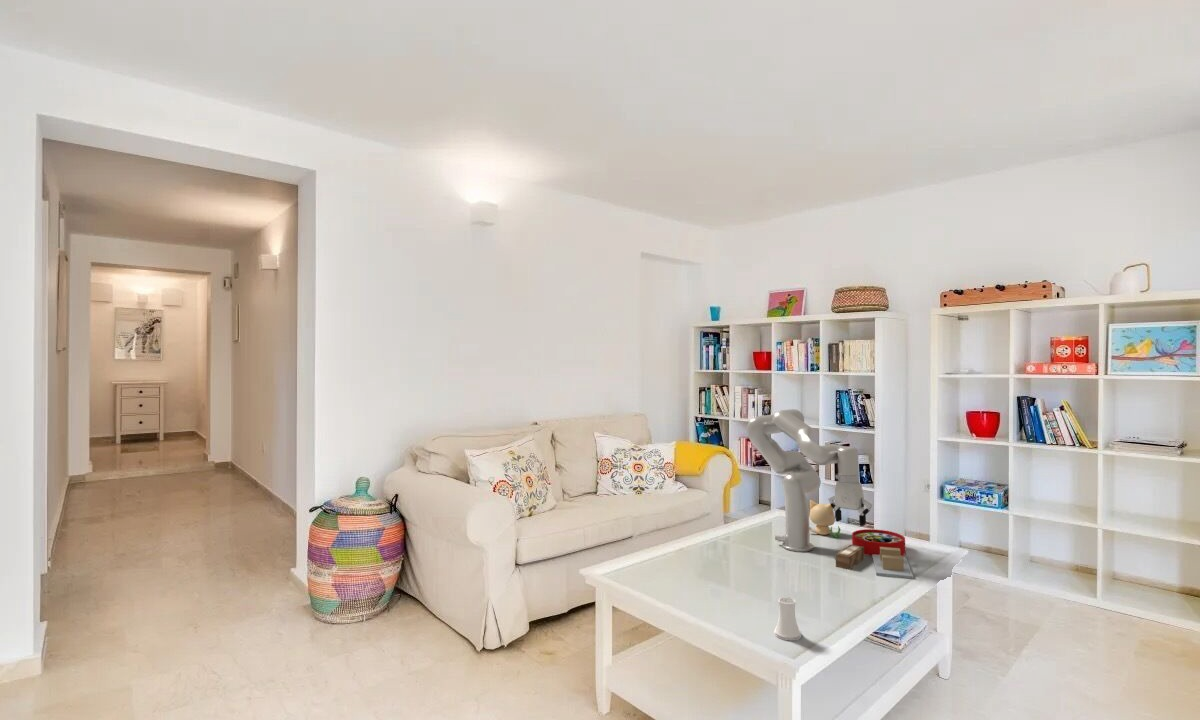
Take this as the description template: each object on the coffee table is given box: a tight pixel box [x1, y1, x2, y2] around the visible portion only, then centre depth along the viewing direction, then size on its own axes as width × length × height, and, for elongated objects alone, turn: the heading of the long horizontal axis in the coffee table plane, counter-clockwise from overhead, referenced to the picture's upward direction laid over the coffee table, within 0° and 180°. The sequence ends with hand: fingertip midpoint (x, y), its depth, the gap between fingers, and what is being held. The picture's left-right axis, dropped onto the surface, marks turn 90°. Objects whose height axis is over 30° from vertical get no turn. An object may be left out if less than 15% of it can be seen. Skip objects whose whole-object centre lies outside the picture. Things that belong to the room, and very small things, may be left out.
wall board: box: [871, 547, 914, 580], centre depth 231 cm, size 12×22×6 cm, turn 159°
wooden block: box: [835, 544, 865, 570], centre depth 237 cm, size 16×5×5 cm, turn 138°
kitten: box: [809, 499, 841, 538], centre depth 275 cm, size 15×10×15 cm
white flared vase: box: [773, 596, 802, 641], centre depth 177 cm, size 8×8×10 cm
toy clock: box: [851, 528, 906, 557], centre depth 252 cm, size 20×6×20 cm
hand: (850, 522), depth 237 cm, fingers open, 9 cm apart
